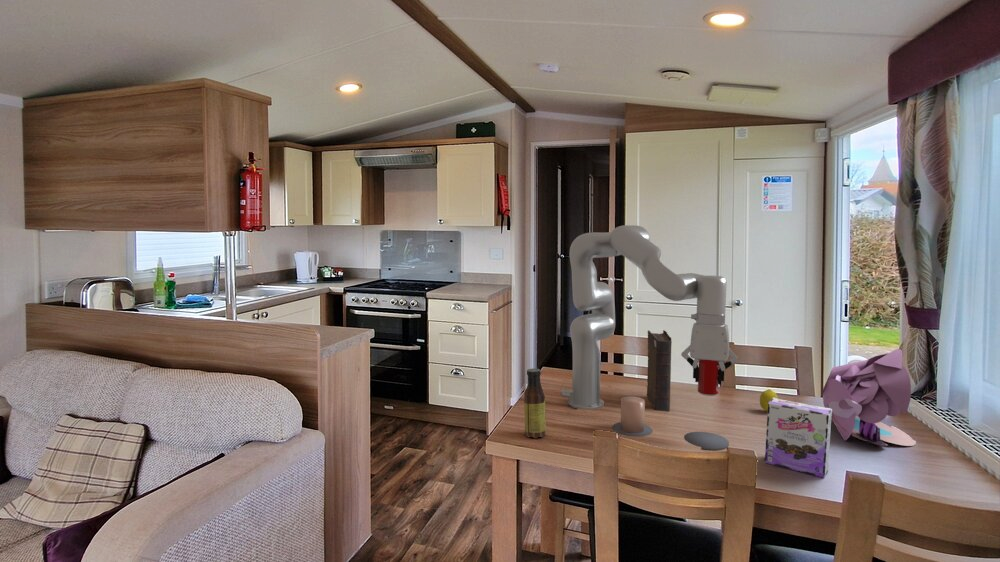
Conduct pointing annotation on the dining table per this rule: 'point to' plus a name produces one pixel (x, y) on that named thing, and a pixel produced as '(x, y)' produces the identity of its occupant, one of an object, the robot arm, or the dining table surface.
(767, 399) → the lemon
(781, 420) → the candy box
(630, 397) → the beige rounded cylinder
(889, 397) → the flower arrangement
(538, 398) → the sauce bottle
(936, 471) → the dining table surface
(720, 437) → the right coaster
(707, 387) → the soda can
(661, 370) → the book
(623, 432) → the left coaster
